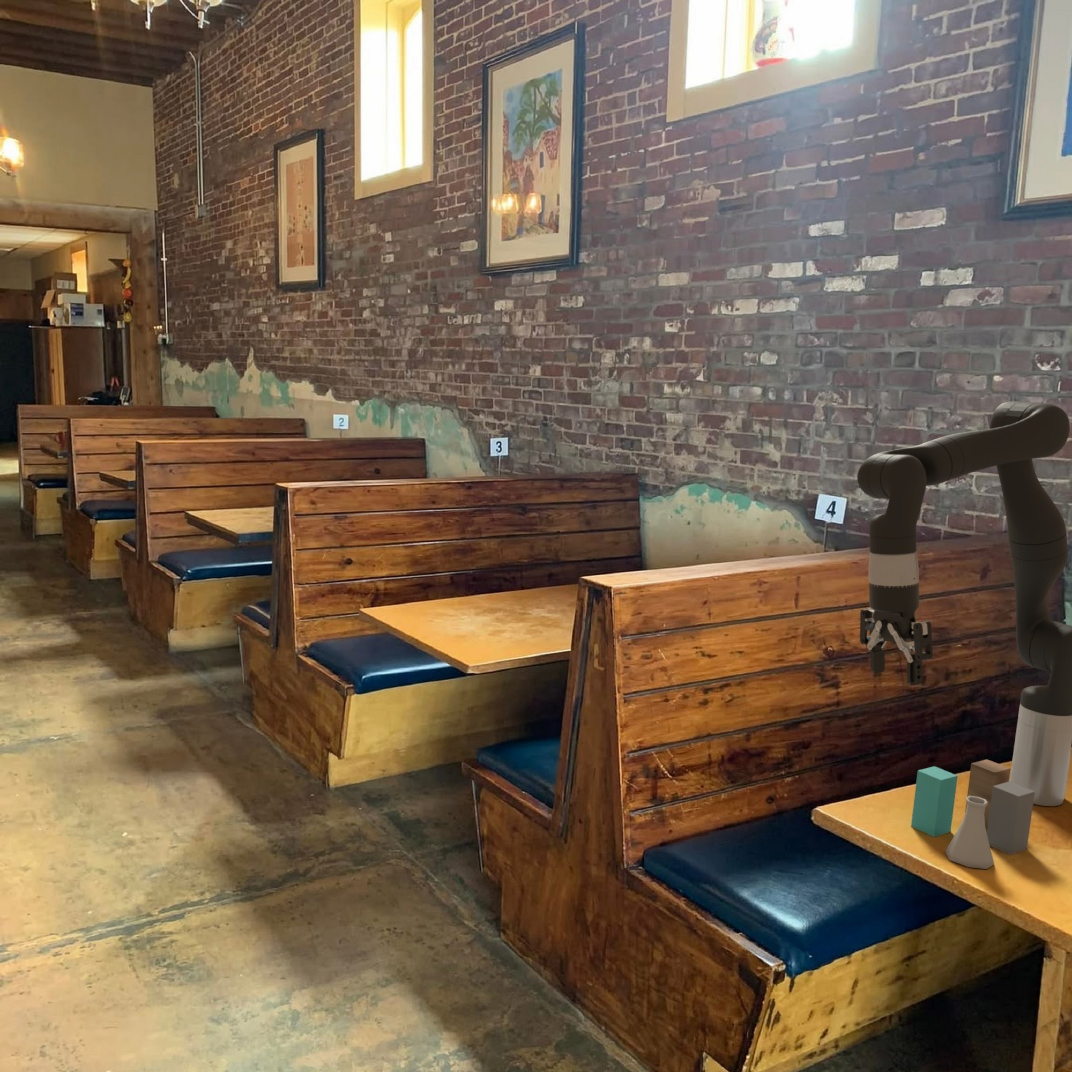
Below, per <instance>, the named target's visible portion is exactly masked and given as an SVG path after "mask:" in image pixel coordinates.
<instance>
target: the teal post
mask: <svg viewBox="0 0 1072 1072" xmlns="http://www.w3.org/2000/svg"><path fill="white" fill-rule="evenodd" d="M958 776H959V775H957V774H954V773H952V772H949V771H947V770H944V769H942V768H941V767H937V766H936V765H935V766H930V767H927V768H923V769H919V770H917V773H916V782H915V791H914V799H913V806H912V807H913V809H912V815H911V824H910V827H911V828H914V829H916V830H918V831H920V832H923V833H924V832H925V833H924V834H926V833H927V834H926V835H928V836H930V837H933V838H935V837H939V836H941V835H944V834H948V833H951V831H952V823H953V816H954V807H955V799H956V793H957V783H958Z"/></svg>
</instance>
